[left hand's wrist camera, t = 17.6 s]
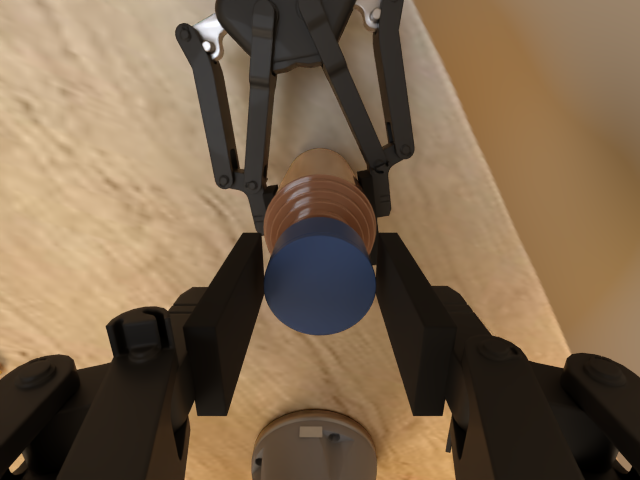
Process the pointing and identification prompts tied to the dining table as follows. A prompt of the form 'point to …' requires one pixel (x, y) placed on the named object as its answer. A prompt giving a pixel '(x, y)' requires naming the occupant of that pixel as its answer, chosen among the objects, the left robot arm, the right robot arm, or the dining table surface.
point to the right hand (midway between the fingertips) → (330, 263)
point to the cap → (319, 277)
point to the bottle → (320, 197)
